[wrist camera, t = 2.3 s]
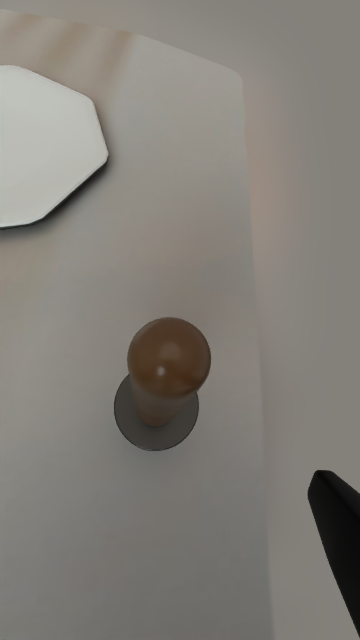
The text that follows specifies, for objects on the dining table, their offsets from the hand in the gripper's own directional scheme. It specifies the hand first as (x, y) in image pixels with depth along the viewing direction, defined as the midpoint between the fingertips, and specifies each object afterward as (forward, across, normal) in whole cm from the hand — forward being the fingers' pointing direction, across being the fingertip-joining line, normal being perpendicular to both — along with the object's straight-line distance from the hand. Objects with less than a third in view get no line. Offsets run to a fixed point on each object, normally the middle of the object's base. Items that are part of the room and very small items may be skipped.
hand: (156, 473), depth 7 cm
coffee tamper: (+9, 0, +5) cm, 10 cm away
